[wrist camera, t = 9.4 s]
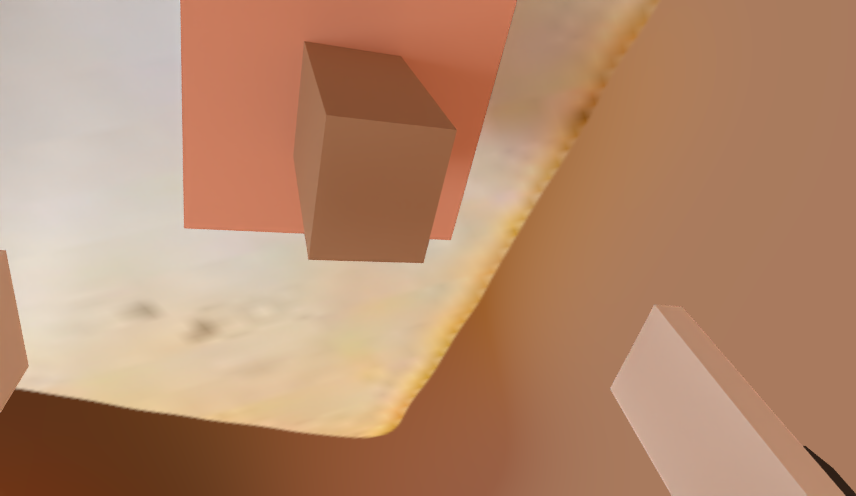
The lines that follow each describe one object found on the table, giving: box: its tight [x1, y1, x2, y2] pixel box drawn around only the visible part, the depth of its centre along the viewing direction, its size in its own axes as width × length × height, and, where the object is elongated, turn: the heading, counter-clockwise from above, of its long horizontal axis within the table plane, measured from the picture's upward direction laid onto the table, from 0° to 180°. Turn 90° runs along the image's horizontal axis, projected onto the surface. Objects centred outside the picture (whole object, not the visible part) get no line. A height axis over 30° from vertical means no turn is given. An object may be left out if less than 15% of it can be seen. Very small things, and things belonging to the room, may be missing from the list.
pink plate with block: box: [180, 0, 517, 263], centre depth 21 cm, size 13×13×9 cm
